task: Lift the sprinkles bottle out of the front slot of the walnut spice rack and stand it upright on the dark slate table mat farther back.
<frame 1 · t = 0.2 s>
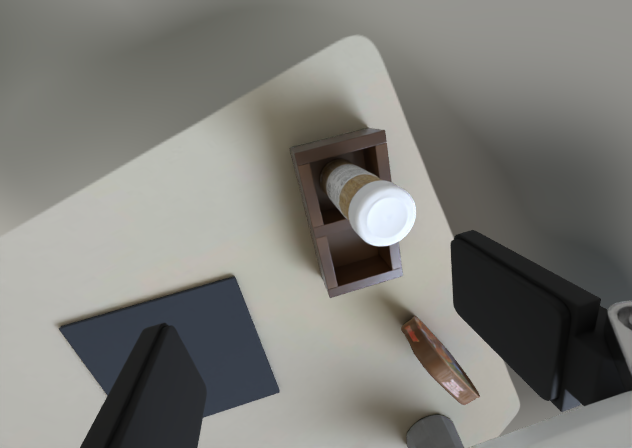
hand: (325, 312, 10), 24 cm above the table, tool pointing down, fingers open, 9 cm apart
sprinkles bottle: (338, 178, 33), resting on spice rack
coffeepot: (423, 430, 53), on the table
spice rack: (343, 209, 34), on the table
tin: (423, 338, 44), on the table
table mat: (183, 361, 38), on the table
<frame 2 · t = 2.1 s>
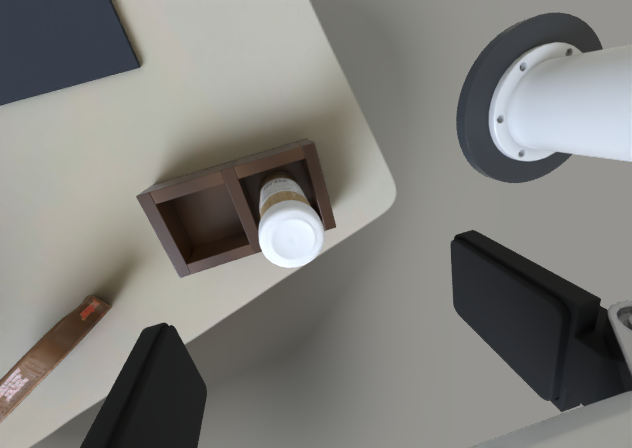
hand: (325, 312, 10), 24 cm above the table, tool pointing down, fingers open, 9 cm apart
sprinkles bottle: (279, 190, 32), resting on spice rack
spice rack: (246, 200, 32), on the table
tin: (72, 327, 34), on the table
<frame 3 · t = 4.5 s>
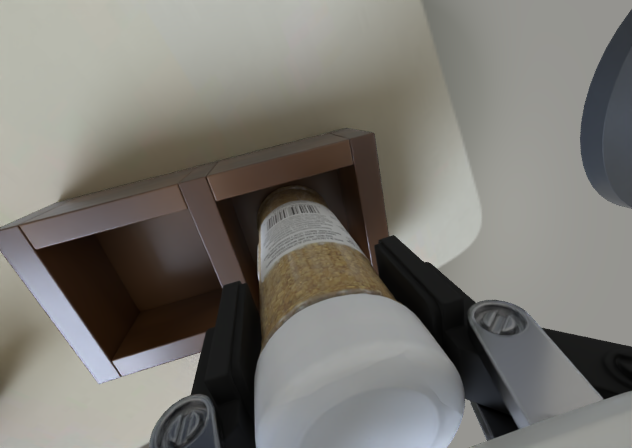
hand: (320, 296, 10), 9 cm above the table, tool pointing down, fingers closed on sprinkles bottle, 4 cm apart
sprinkles bottle: (293, 217, 18), resting on spice rack, touching gripper
spice rack: (233, 233, 18), on the table
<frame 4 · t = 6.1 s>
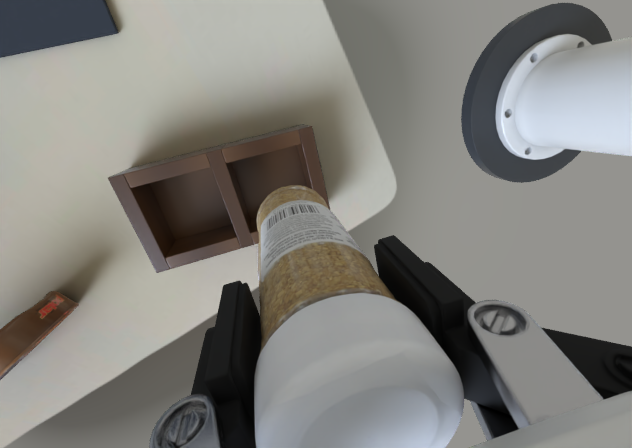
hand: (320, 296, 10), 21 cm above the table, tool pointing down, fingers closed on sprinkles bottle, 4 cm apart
sprinkles bottle: (293, 217, 18), point 12 cm above the table, touching gripper
spice rack: (234, 189, 29), on the table
tin: (33, 326, 30), on the table
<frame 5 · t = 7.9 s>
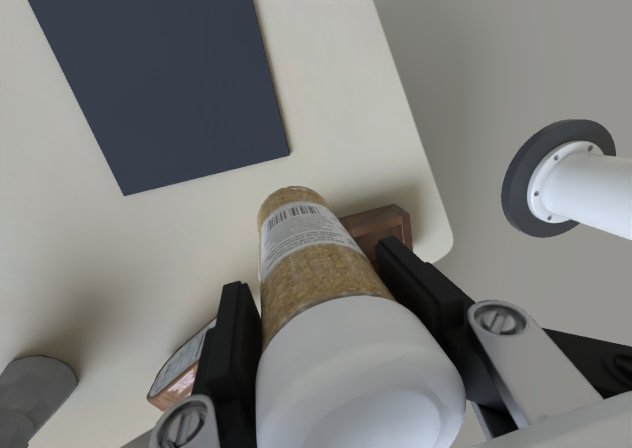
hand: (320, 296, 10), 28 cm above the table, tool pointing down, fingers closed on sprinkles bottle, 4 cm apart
sprinkles bottle: (294, 218, 18), point 20 cm above the table, touching gripper
coffeepot: (42, 373, 41), on the table
spice rack: (344, 246, 42), on the table
tin: (200, 337, 43), on the table
table mat: (177, 85, 32), on the table
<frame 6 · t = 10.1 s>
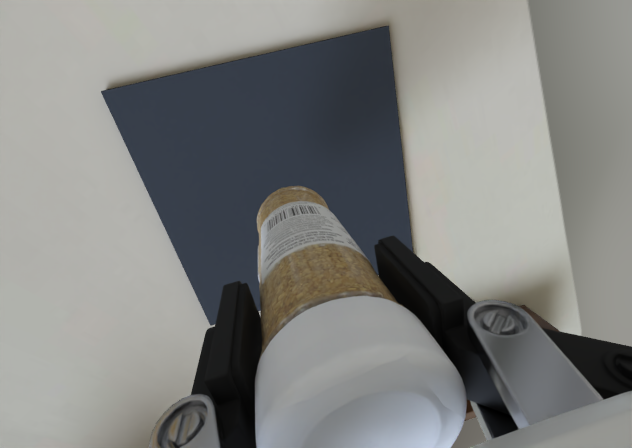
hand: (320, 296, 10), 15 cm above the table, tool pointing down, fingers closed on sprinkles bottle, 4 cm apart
sprinkles bottle: (294, 218, 18), point 6 cm above the table, touching gripper
spice rack: (458, 354, 35), on the table
table mat: (287, 193, 24), on the table
when the fingers open (9 cm above the table, at t = 11.7 s): sprinkles bottle stays where it is, resting on table mat.
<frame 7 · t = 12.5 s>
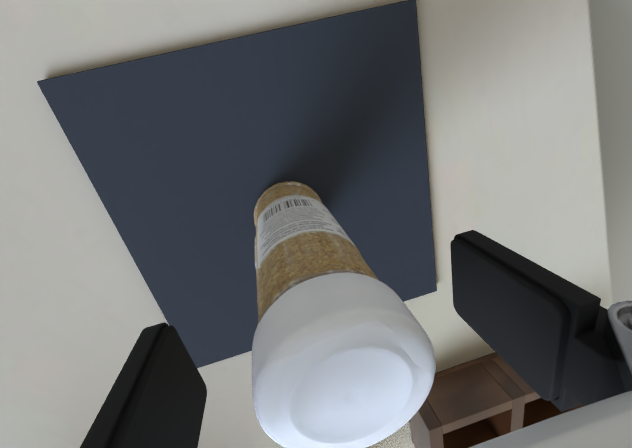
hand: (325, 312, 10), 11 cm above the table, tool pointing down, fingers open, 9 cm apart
sprinkles bottle: (289, 212, 19), resting on table mat
spice rack: (482, 387, 30), on the table
table mat: (286, 210, 19), on the table
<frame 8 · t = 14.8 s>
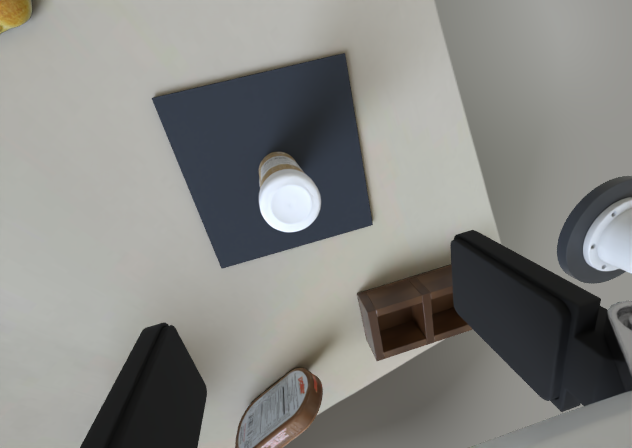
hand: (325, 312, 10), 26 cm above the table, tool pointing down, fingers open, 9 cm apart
sprinkles bottle: (278, 170, 34), resting on table mat
spice rack: (413, 301, 44), on the table
tin: (275, 386, 46), on the table
table mat: (277, 169, 34), on the table
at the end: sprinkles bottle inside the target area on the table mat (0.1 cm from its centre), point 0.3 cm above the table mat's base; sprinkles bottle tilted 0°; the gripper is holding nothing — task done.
